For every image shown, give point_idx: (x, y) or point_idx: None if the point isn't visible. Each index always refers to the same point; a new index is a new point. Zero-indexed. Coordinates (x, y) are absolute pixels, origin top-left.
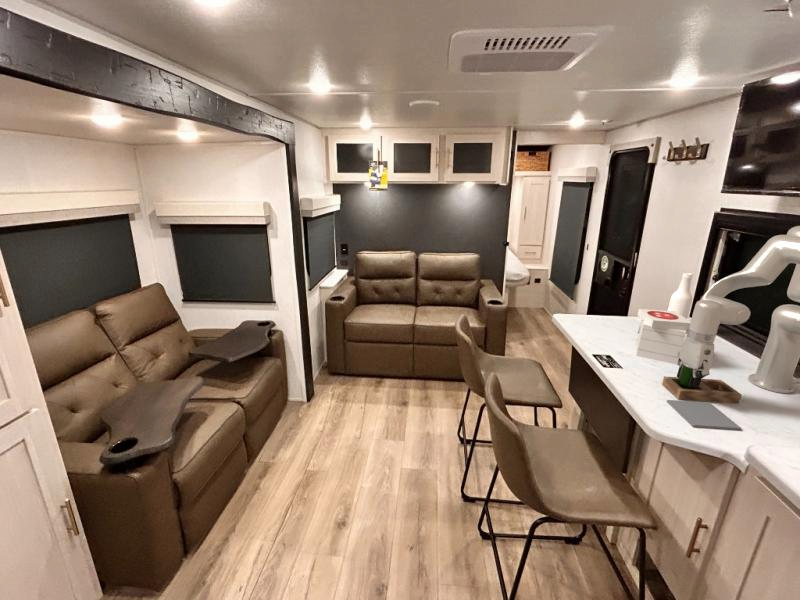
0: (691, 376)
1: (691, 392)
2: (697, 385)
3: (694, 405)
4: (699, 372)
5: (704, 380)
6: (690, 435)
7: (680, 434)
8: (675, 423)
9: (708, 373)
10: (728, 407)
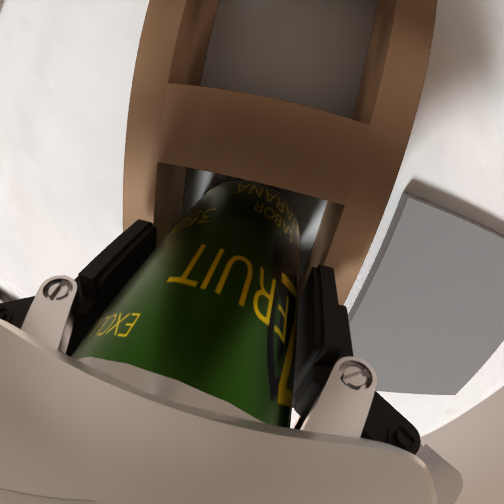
0: (292, 406)
1: None
2: (342, 313)
3: (396, 315)
4: (289, 388)
5: (172, 33)
6: (460, 407)
7: (443, 420)
8: (416, 412)
9: (452, 491)
10: (450, 97)
